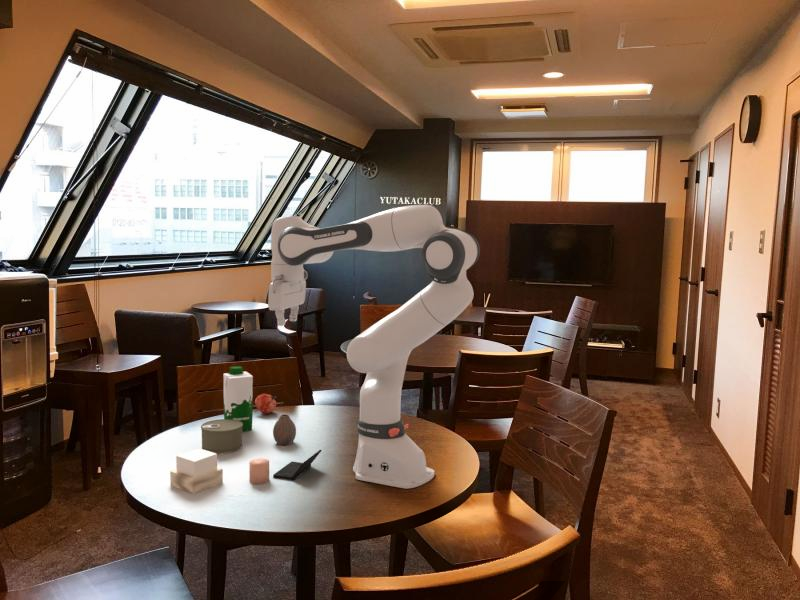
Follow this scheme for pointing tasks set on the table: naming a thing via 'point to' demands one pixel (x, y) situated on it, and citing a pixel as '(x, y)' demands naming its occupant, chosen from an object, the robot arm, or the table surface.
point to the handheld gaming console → (295, 468)
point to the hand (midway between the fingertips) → (287, 323)
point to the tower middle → (196, 462)
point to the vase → (284, 430)
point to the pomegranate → (265, 403)
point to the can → (222, 436)
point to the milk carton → (238, 396)
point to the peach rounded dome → (259, 471)
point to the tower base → (196, 480)
